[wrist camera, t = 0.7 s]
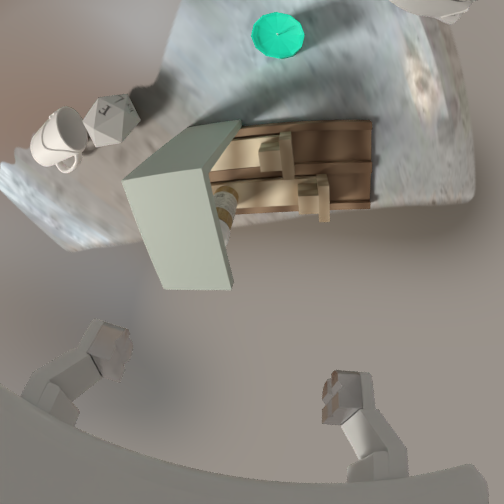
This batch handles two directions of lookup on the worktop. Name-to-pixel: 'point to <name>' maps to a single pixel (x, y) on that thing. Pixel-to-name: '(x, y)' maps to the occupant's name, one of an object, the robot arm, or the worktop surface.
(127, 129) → the die
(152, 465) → the robot arm
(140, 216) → the shelf
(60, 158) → the mug
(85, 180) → the worktop surface
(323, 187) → the bottle strip
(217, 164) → the wooden slider block
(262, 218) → the worktop surface
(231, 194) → the sprinkles bottle
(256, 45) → the candle
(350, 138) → the lane board
